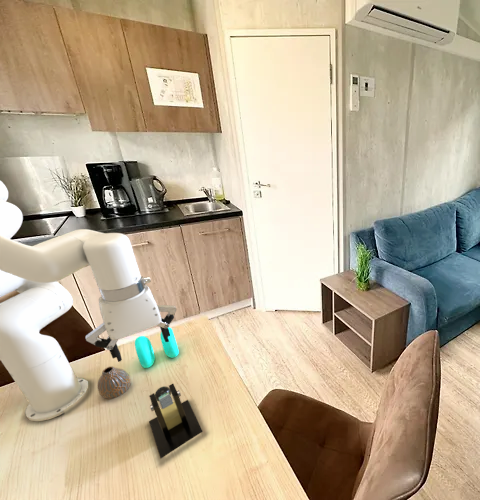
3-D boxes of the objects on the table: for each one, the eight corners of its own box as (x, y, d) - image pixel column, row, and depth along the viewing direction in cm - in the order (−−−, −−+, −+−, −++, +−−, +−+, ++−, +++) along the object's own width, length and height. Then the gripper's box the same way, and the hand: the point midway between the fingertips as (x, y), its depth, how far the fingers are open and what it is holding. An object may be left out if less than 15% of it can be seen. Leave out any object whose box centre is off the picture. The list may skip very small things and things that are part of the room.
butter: (161, 417, 72) (158, 410, 71) (178, 407, 75) (175, 400, 74) (166, 431, 69) (163, 424, 68) (184, 420, 71) (181, 413, 70)
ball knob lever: (157, 403, 74) (152, 390, 74) (172, 395, 77) (167, 382, 77) (160, 413, 64) (154, 398, 64) (177, 404, 66) (172, 389, 66)
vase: (117, 405, 76) (106, 382, 73) (96, 401, 78) (84, 377, 74) (139, 384, 83) (130, 362, 79) (119, 380, 84) (109, 358, 80)
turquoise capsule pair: (142, 356, 92) (132, 332, 88) (176, 343, 98) (169, 320, 94) (144, 376, 85) (134, 351, 81) (181, 361, 91) (174, 336, 87)
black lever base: (150, 424, 72) (135, 390, 67) (188, 402, 77) (177, 369, 72) (162, 462, 64) (146, 426, 59) (203, 434, 69) (192, 400, 64)
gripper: (163, 270, 70) (178, 325, 77) (69, 295, 60) (96, 357, 67) (171, 282, 65) (186, 340, 72) (70, 312, 55) (99, 376, 62)
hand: (143, 348), depth 70 cm, fingers open, 9 cm apart
